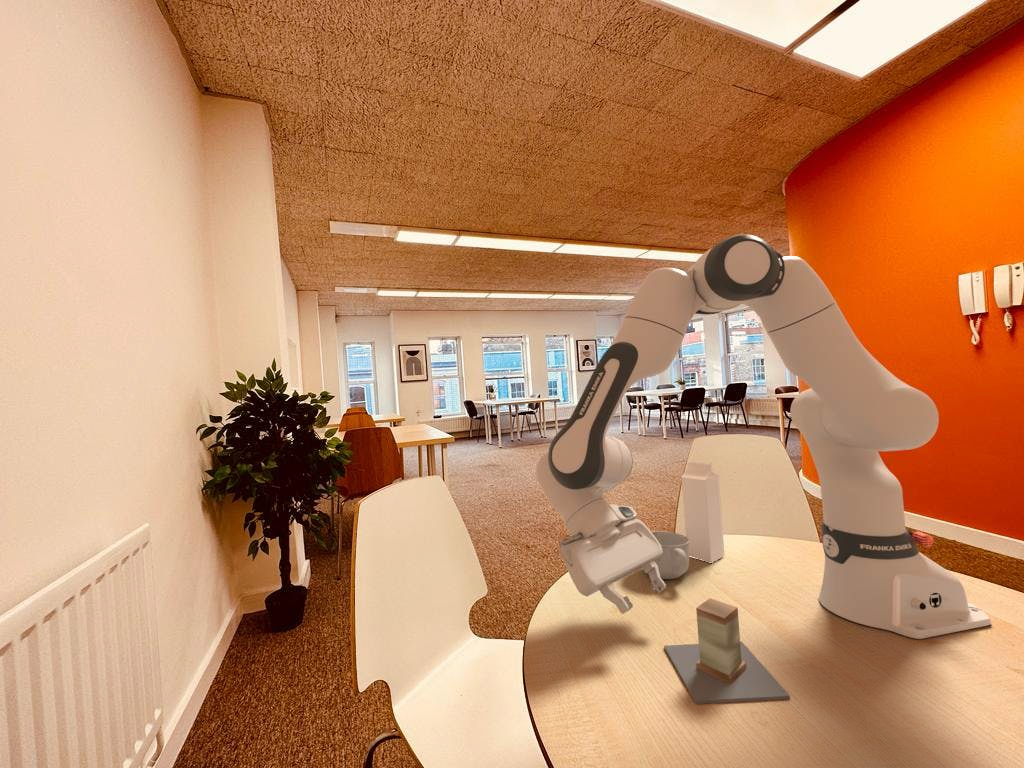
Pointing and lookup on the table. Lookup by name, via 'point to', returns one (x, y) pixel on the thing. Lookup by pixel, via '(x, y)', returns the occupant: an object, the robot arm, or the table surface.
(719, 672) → the banded square pillar
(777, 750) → the table surface
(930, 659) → the table surface
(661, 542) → the teacup
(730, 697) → the mat
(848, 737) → the table surface
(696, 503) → the milk
